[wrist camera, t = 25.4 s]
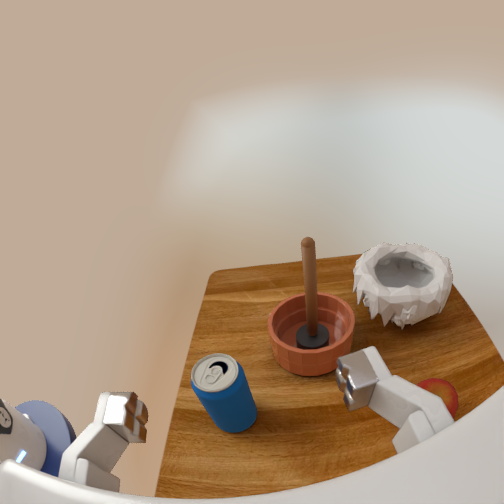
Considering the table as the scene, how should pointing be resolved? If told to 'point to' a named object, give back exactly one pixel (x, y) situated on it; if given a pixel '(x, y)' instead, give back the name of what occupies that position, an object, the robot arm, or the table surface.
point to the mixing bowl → (294, 316)
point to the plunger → (311, 303)
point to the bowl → (402, 282)
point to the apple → (442, 392)
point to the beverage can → (224, 392)
